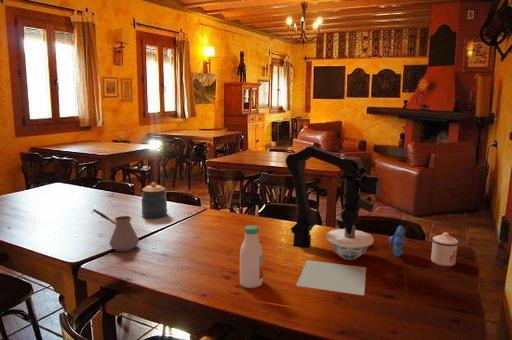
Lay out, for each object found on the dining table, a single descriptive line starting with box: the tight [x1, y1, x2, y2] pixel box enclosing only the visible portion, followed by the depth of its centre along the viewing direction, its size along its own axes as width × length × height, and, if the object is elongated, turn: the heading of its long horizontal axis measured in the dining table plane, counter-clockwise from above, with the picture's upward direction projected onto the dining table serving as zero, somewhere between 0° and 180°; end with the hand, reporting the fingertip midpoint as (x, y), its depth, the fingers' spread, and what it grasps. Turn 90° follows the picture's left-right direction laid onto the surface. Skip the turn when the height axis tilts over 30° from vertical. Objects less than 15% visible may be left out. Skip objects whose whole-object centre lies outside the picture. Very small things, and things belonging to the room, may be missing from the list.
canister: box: [140, 181, 168, 219], centre depth 212 cm, size 13×13×18 cm
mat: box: [295, 259, 367, 296], centre depth 143 cm, size 22×22×1 cm
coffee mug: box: [335, 215, 357, 230], centre depth 181 cm, size 12×9×10 cm
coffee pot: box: [90, 208, 140, 253], centre depth 169 cm, size 21×12×15 cm, turn 69°
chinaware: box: [330, 242, 369, 261], centre depth 160 cm, size 15×15×8 cm
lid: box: [325, 225, 374, 248], centre depth 159 cm, size 18×18×5 cm
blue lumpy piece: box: [387, 225, 407, 258], centre depth 163 cm, size 12×7×12 cm, turn 152°
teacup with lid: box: [430, 232, 459, 267], centre depth 158 cm, size 12×9×12 cm
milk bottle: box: [239, 225, 264, 289], centre depth 136 cm, size 8×8×20 cm
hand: (350, 230), depth 159 cm, fingers open, 9 cm apart
